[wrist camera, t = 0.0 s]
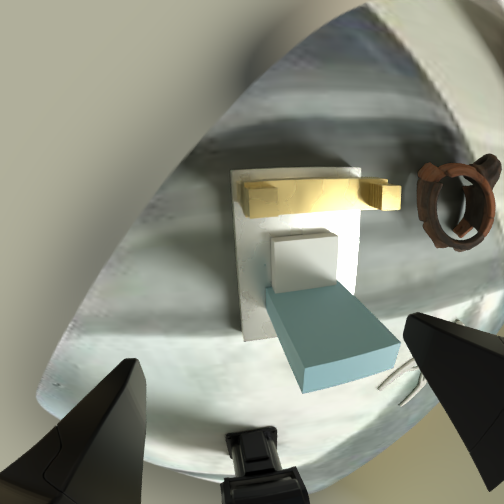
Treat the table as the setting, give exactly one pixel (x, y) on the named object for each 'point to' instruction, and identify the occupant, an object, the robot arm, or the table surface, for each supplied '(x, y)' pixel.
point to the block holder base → (296, 224)
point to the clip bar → (323, 316)
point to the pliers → (403, 369)
